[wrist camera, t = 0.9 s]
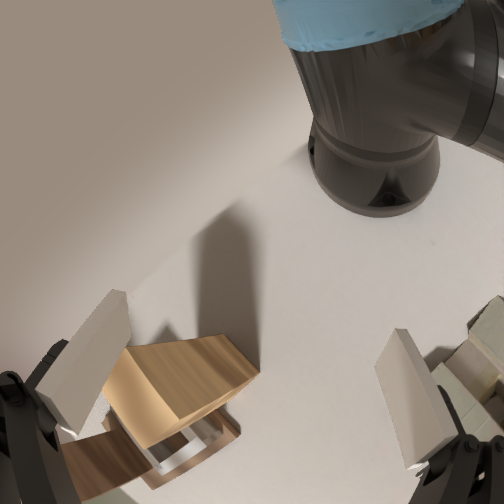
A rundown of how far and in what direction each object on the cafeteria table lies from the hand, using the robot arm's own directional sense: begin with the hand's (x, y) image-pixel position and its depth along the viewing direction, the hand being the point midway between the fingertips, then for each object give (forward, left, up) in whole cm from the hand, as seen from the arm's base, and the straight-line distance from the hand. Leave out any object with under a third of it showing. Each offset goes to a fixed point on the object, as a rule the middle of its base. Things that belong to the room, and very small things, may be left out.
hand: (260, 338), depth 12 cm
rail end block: (+10, -3, -16) cm, 19 cm away
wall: (-7, +20, -16) cm, 26 cm away
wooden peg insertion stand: (+26, -3, -16) cm, 30 cm away
